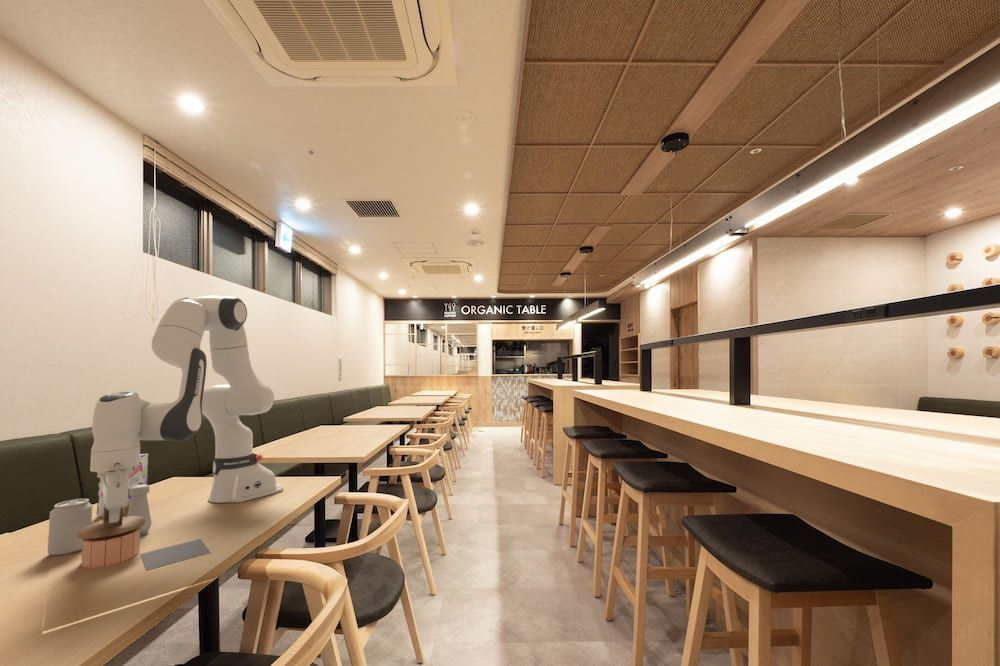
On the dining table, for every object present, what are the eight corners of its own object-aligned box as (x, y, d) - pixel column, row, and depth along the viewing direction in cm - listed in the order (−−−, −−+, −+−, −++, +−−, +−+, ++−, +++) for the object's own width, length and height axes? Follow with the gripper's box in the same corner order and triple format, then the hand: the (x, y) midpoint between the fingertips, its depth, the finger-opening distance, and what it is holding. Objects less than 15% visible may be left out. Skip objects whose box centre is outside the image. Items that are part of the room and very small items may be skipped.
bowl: (136, 546, 107) (137, 521, 108) (141, 558, 100) (142, 532, 101) (81, 559, 100) (82, 533, 101) (81, 573, 93) (83, 545, 94)
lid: (142, 515, 109) (143, 496, 110) (148, 527, 101) (149, 507, 101) (76, 529, 101) (77, 508, 101) (77, 543, 92) (78, 521, 93)
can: (40, 560, 100) (43, 508, 101) (57, 548, 107) (60, 499, 108) (81, 554, 103) (84, 503, 104) (96, 542, 110) (98, 495, 111)
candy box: (117, 516, 130) (120, 461, 131) (95, 518, 129) (98, 462, 130) (147, 502, 143) (149, 452, 145) (127, 503, 143) (130, 453, 144)
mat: (200, 540, 110) (200, 538, 110) (210, 554, 102) (210, 552, 102) (140, 555, 102) (140, 554, 102) (146, 572, 93) (146, 570, 93)
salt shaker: (134, 539, 112) (136, 489, 113) (117, 538, 113) (119, 488, 114) (156, 530, 117) (158, 483, 118) (139, 529, 119) (142, 482, 120)
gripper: (137, 464, 97) (135, 526, 96) (129, 452, 111) (126, 506, 110) (99, 469, 93) (96, 535, 92) (96, 456, 107) (93, 513, 106)
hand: (113, 519), depth 101 cm, fingers closed on lid, 3 cm apart
